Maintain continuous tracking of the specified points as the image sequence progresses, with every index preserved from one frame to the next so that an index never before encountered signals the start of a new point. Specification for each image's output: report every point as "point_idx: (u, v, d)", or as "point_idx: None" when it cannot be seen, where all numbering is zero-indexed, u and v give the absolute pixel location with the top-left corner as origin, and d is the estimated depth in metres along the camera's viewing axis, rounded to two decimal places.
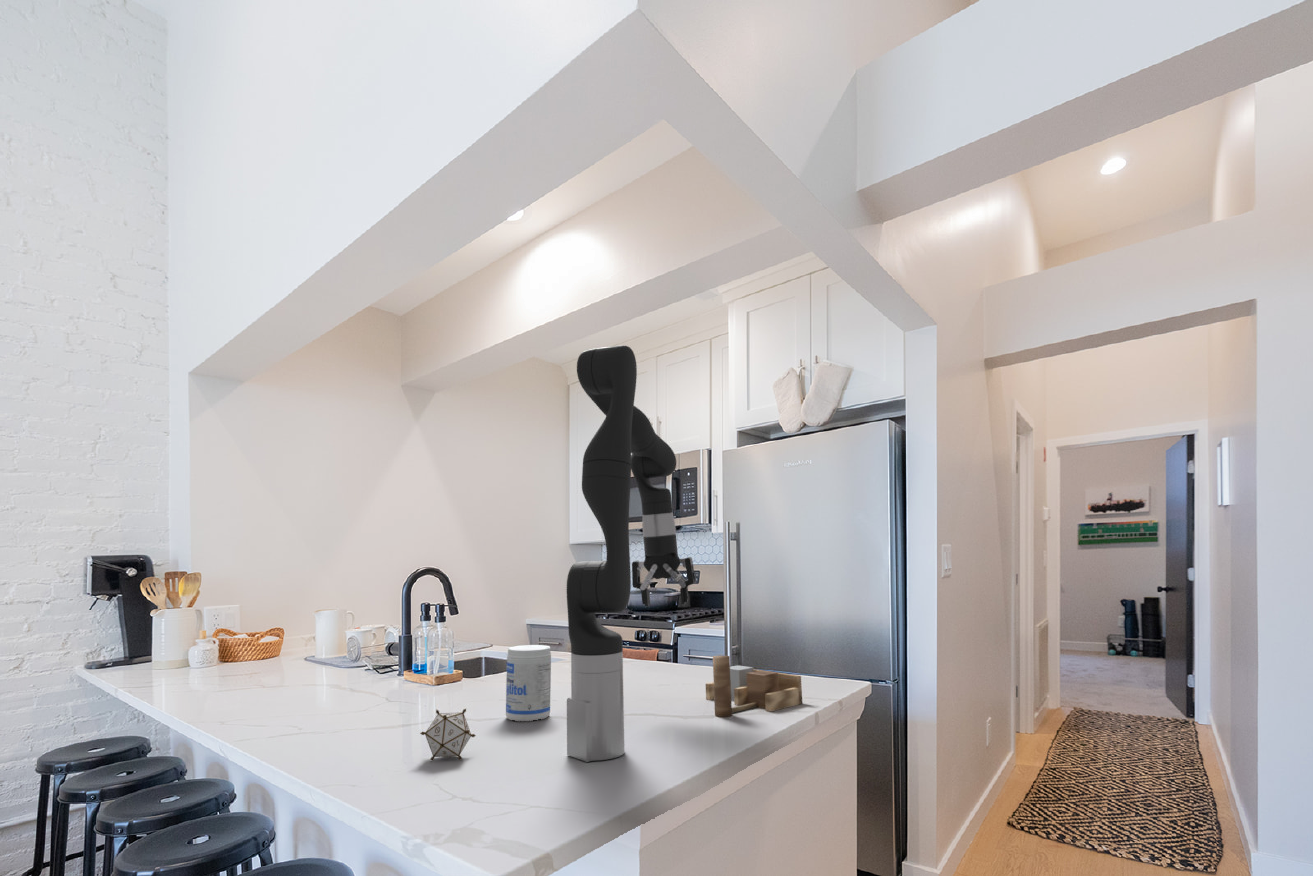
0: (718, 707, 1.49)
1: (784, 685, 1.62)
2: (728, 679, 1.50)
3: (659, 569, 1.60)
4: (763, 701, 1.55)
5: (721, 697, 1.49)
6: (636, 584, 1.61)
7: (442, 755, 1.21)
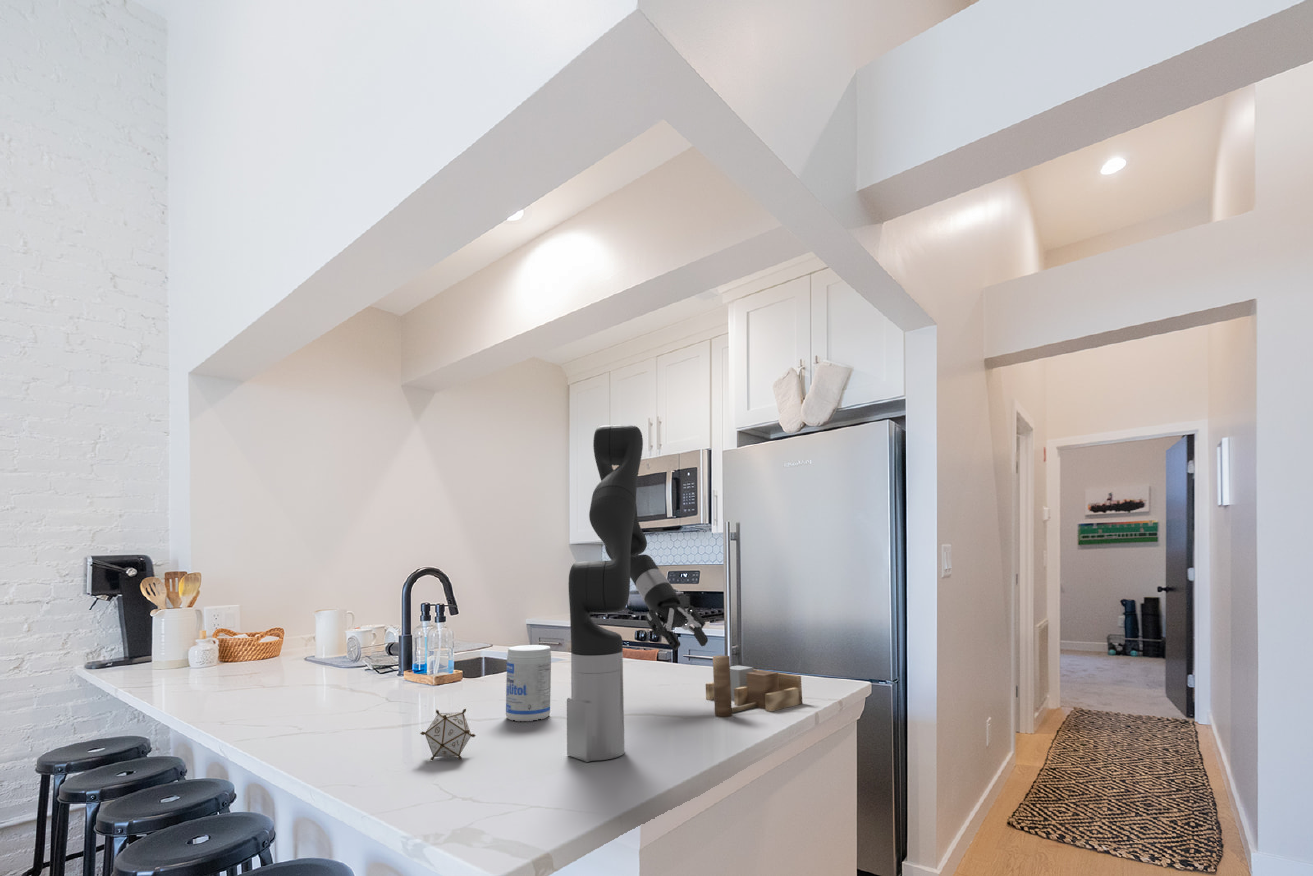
0: (718, 707, 1.49)
1: (784, 685, 1.62)
2: (728, 679, 1.50)
3: (674, 614, 1.63)
4: (763, 701, 1.55)
5: (721, 697, 1.49)
6: (662, 626, 1.57)
7: (442, 755, 1.21)
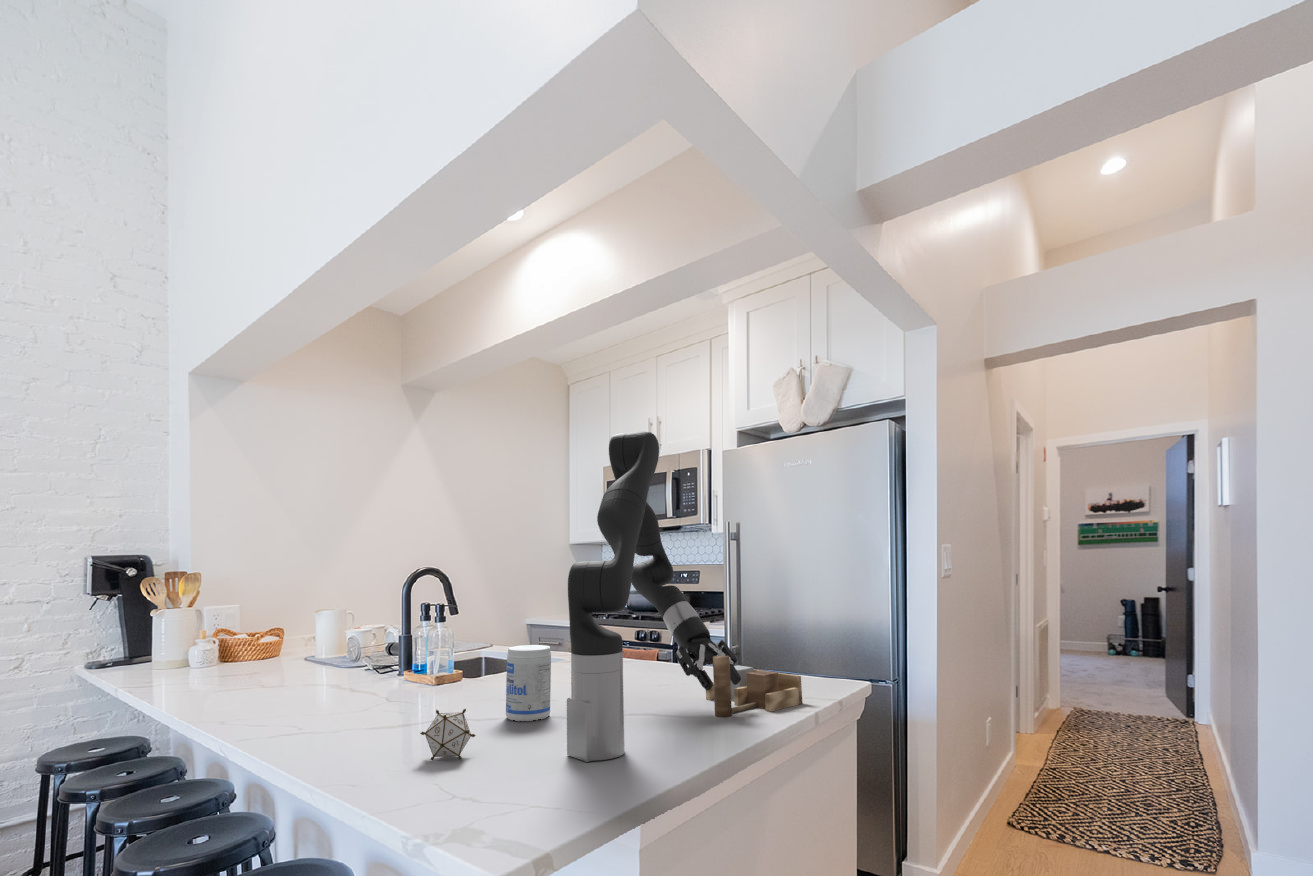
0: (718, 707, 1.49)
1: (784, 685, 1.62)
2: (728, 679, 1.50)
3: (705, 651, 1.55)
4: (763, 701, 1.55)
5: (721, 697, 1.49)
6: (693, 665, 1.49)
7: (442, 755, 1.21)
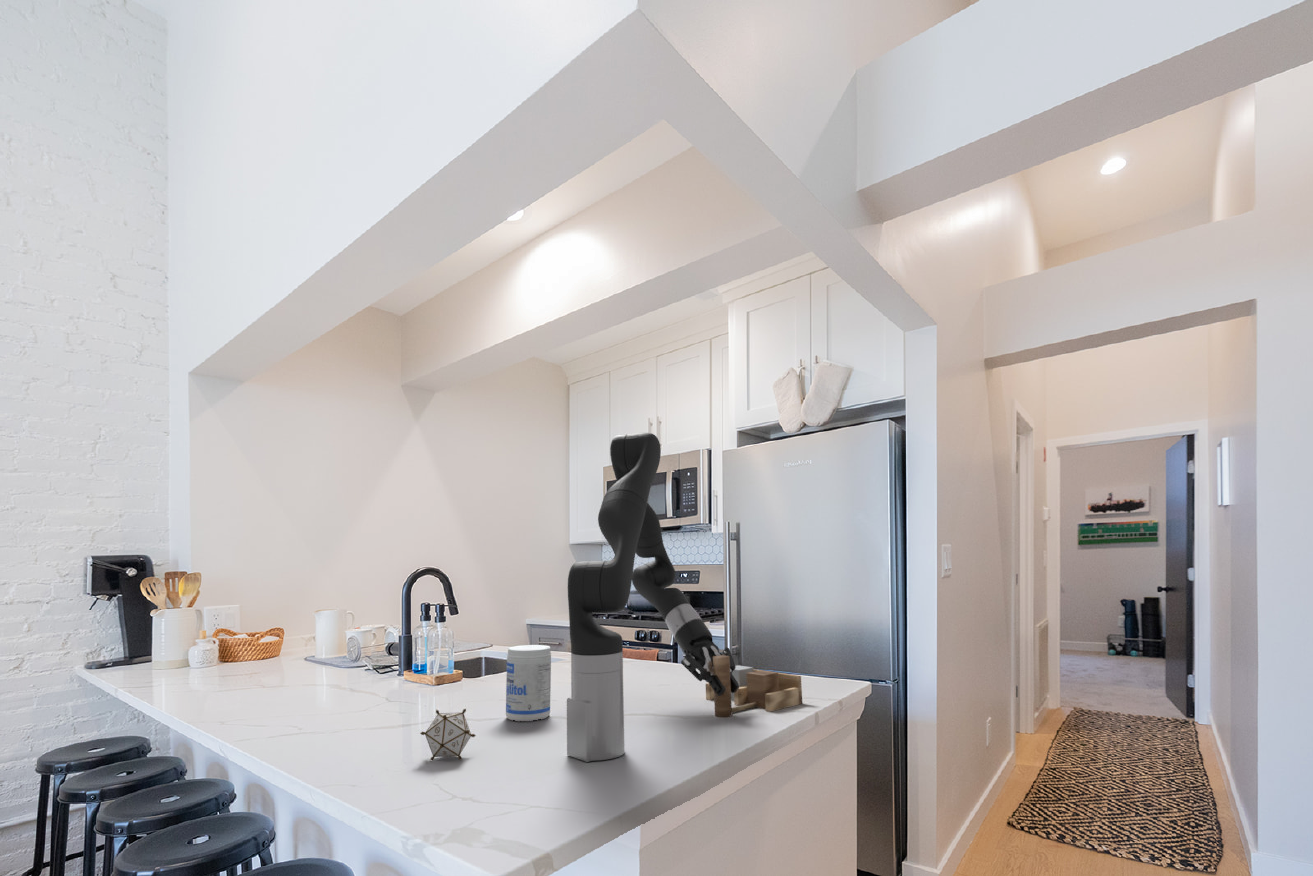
0: (718, 707, 1.49)
1: (784, 685, 1.62)
2: (728, 679, 1.50)
3: None
4: (763, 701, 1.55)
5: (721, 697, 1.49)
6: (705, 670, 1.49)
7: (442, 755, 1.21)
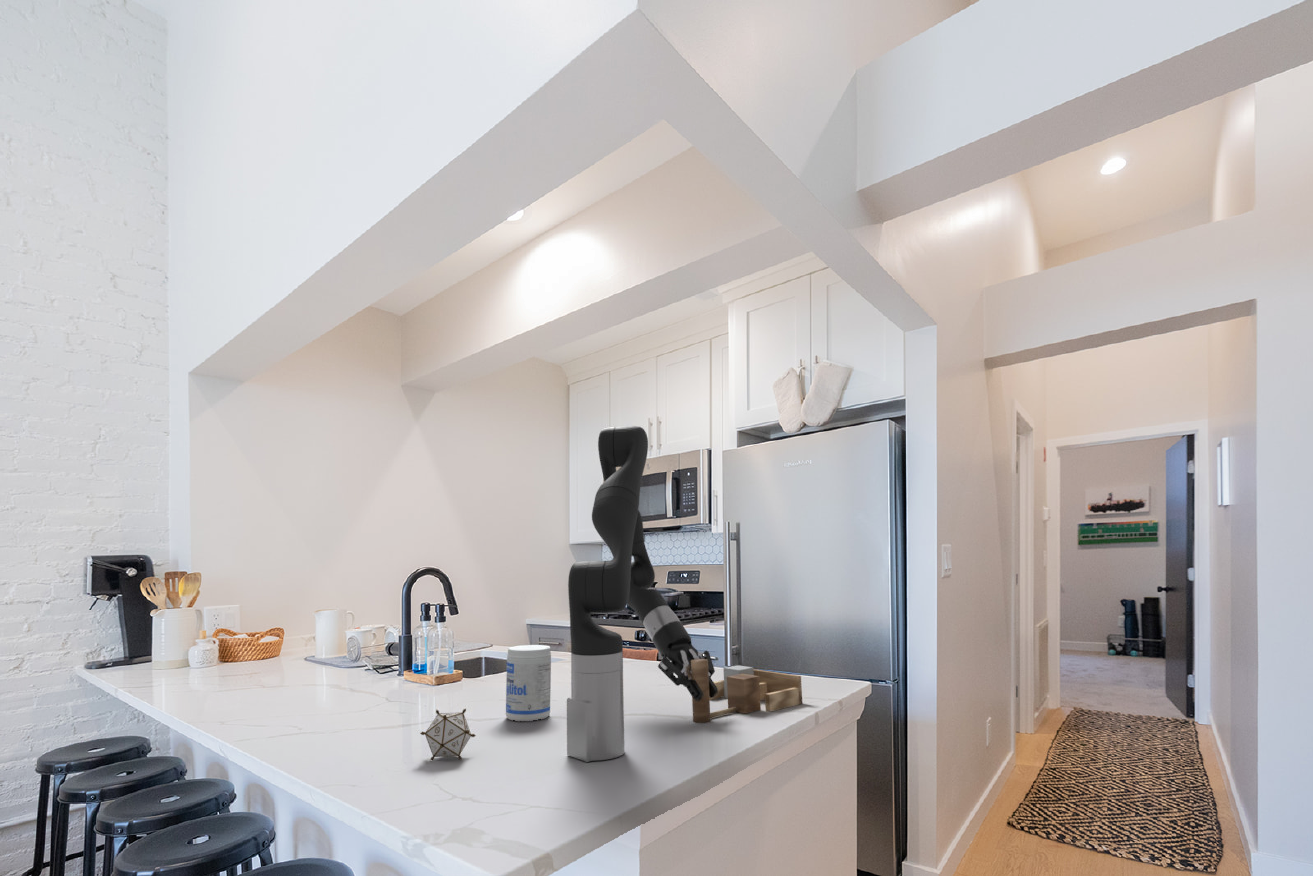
0: (696, 712, 1.44)
1: (784, 685, 1.62)
2: (706, 683, 1.45)
3: None
4: (743, 706, 1.51)
5: (699, 702, 1.44)
6: (682, 674, 1.45)
7: (442, 755, 1.21)
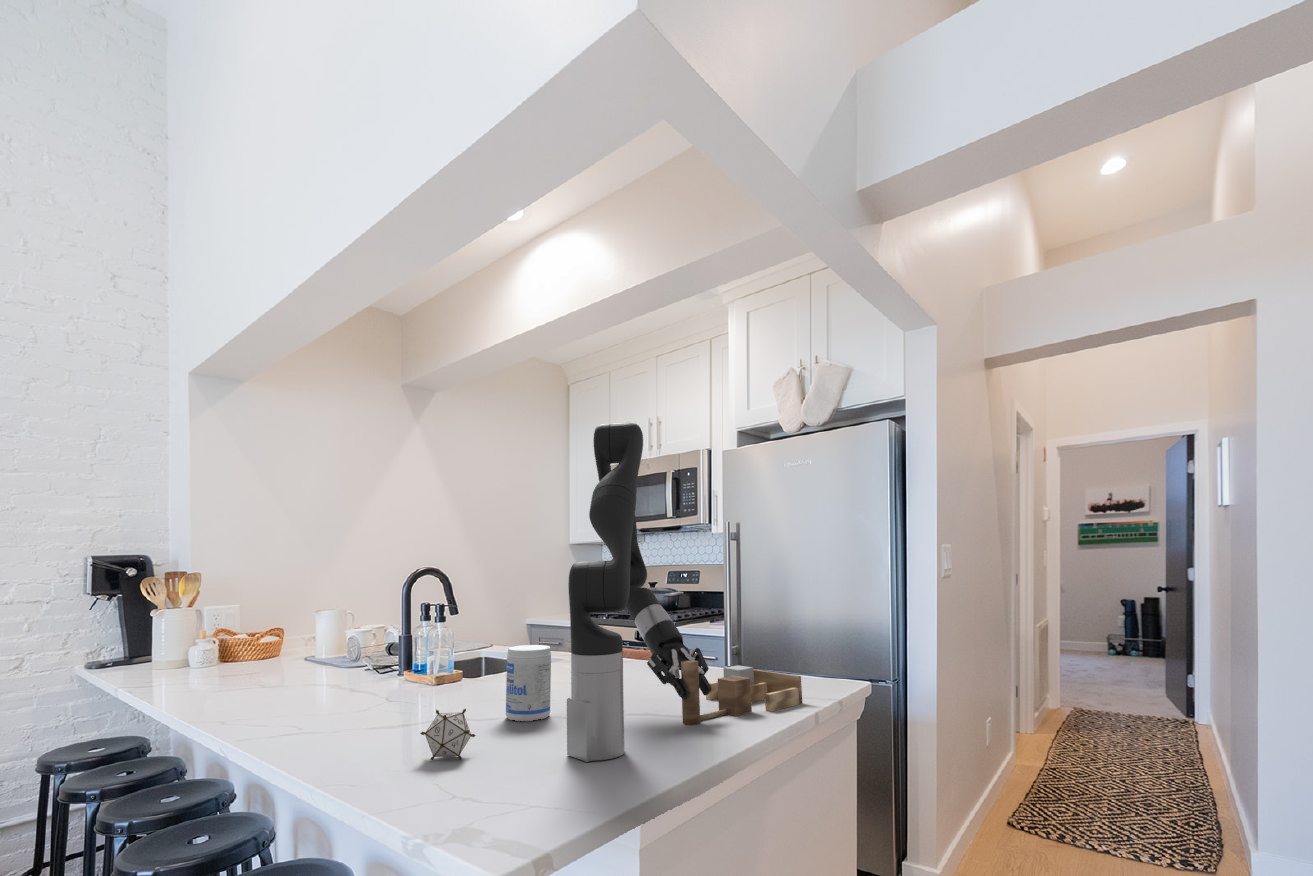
0: (686, 714, 1.43)
1: (784, 685, 1.62)
2: (696, 685, 1.44)
3: (677, 656, 1.48)
4: (734, 708, 1.49)
5: (689, 704, 1.43)
6: (669, 673, 1.43)
7: (442, 755, 1.21)
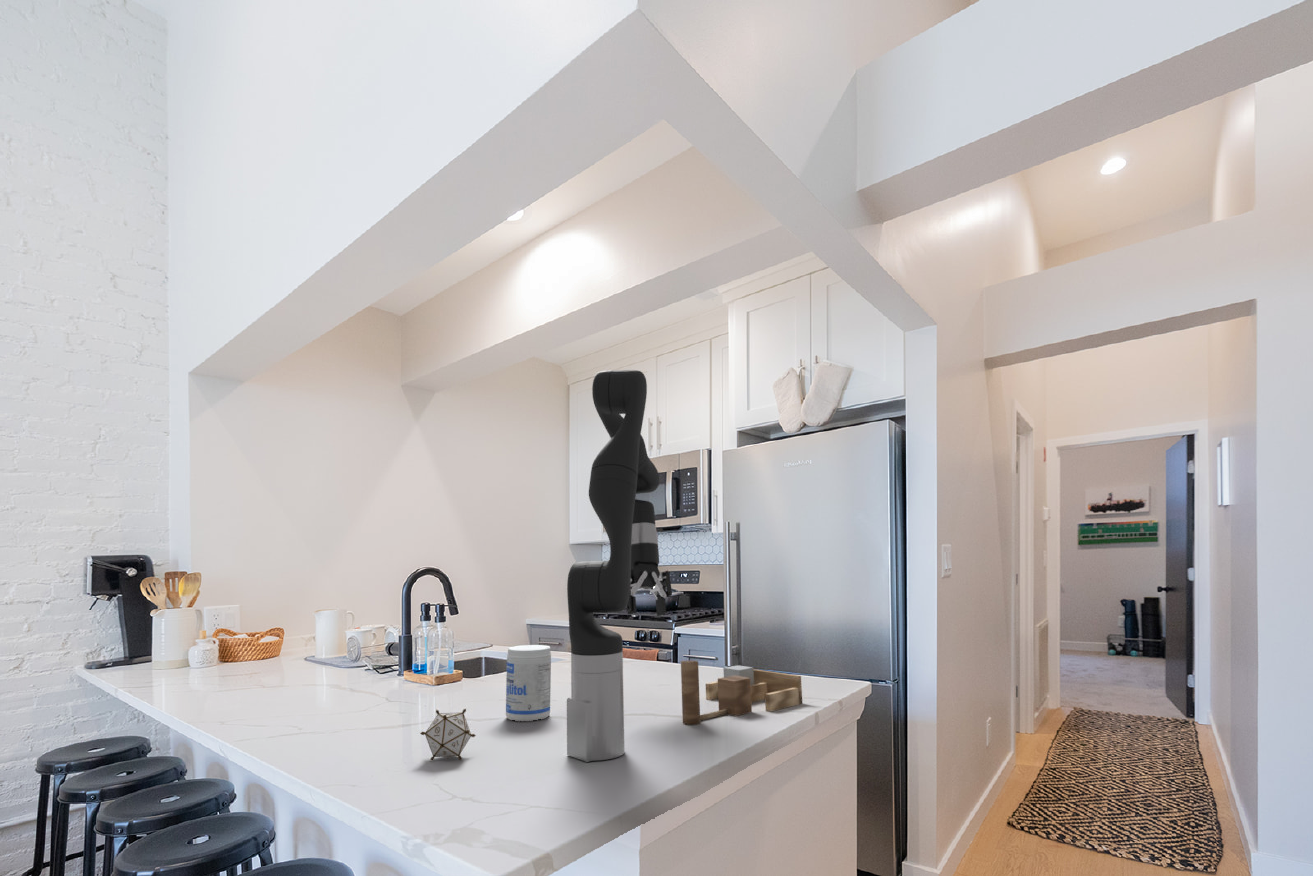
0: (686, 714, 1.43)
1: (784, 685, 1.62)
2: (696, 685, 1.44)
3: (646, 577, 1.62)
4: (734, 708, 1.49)
5: (689, 704, 1.43)
6: None
7: (442, 755, 1.21)
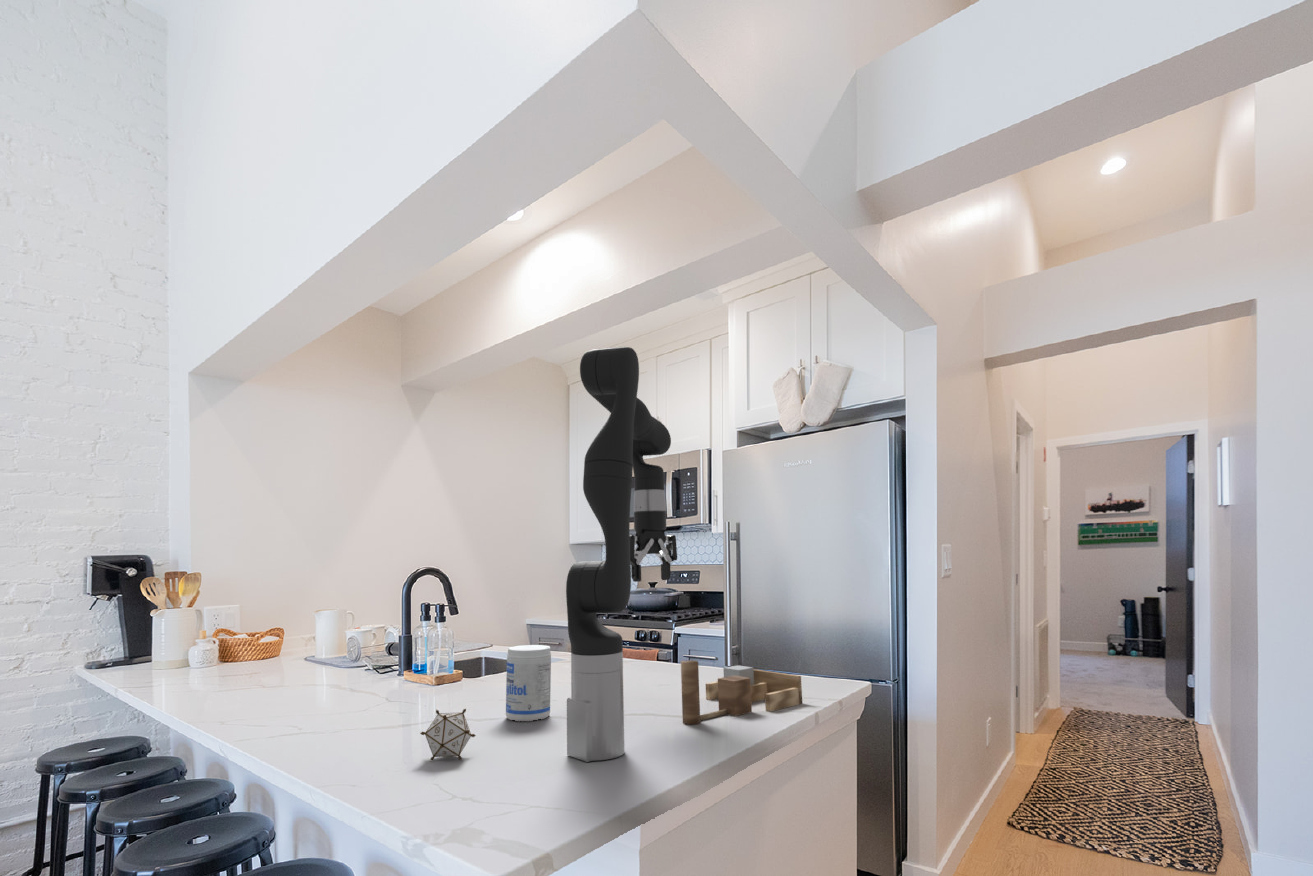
0: (686, 714, 1.43)
1: (784, 685, 1.62)
2: (696, 685, 1.44)
3: (652, 544, 1.62)
4: (734, 708, 1.49)
5: (689, 704, 1.43)
6: (633, 558, 1.58)
7: (442, 755, 1.21)
